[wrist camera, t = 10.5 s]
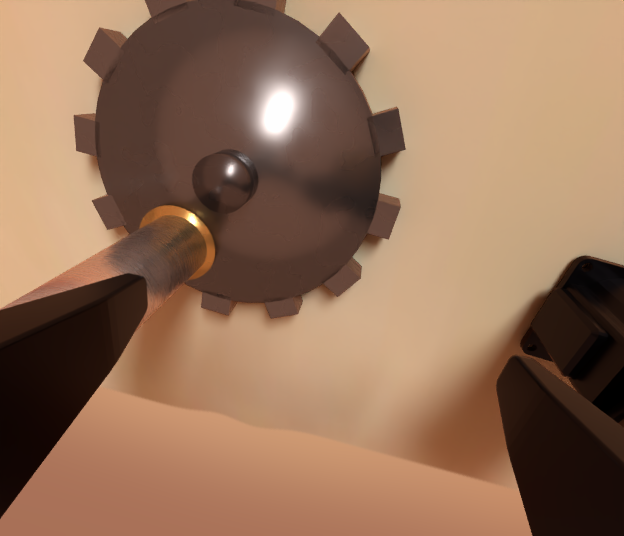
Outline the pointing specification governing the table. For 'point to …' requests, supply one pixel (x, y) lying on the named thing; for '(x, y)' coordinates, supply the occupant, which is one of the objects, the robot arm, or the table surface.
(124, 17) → the table surface
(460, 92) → the table surface
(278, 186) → the sprocket plate
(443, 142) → the table surface
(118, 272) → the drive pin
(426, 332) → the table surface
